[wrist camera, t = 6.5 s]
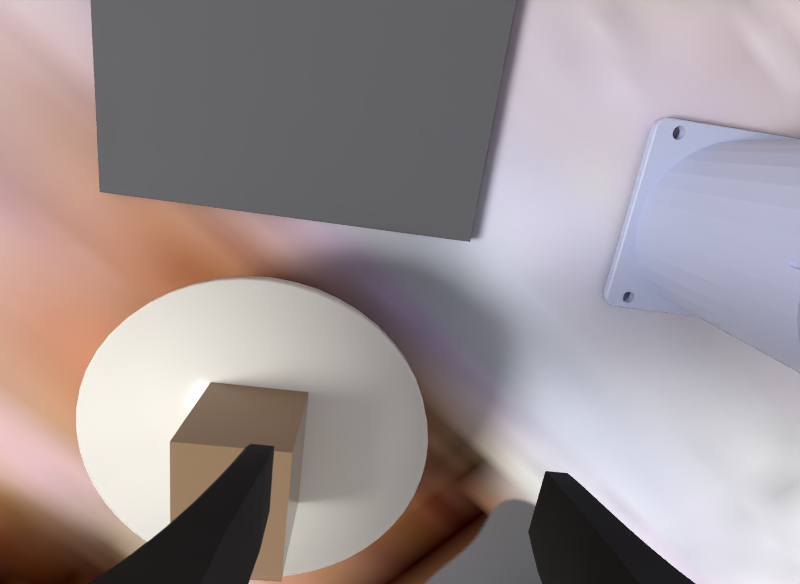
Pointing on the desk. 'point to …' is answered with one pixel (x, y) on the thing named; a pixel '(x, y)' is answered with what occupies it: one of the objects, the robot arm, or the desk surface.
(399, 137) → the mat
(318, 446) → the lid
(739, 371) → the desk surface
